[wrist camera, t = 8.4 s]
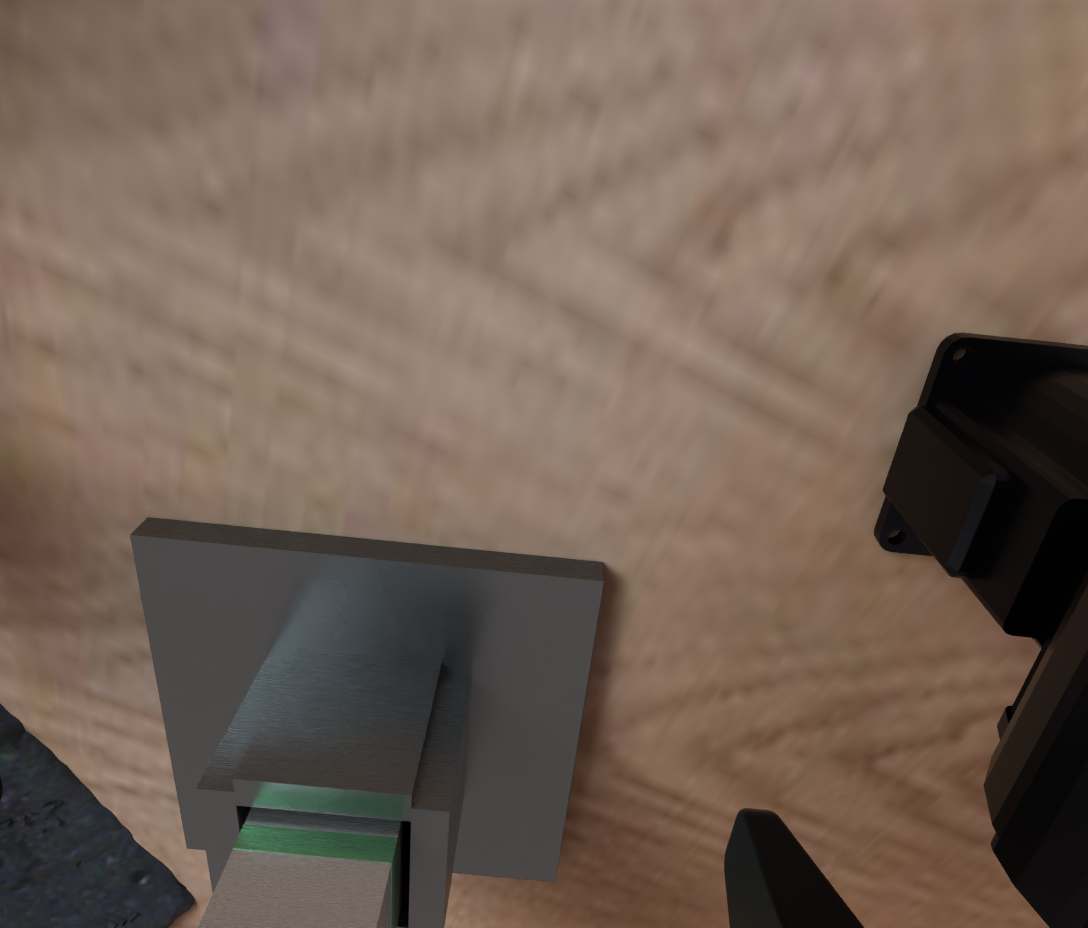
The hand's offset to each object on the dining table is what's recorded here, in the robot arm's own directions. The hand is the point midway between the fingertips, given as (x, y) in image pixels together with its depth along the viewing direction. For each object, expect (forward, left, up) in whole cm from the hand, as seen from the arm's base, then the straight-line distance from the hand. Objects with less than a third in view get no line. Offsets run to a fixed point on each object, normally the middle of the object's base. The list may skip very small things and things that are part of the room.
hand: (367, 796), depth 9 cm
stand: (+3, +12, -13) cm, 18 cm away
